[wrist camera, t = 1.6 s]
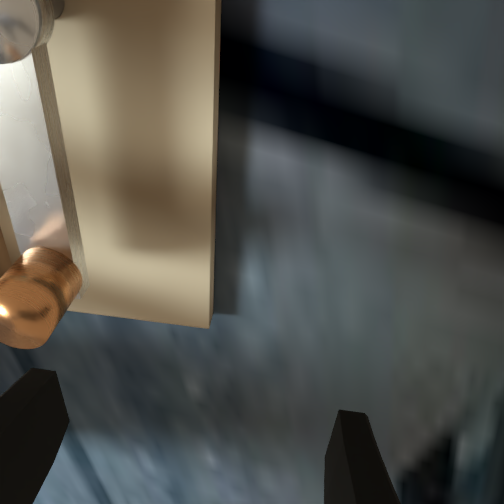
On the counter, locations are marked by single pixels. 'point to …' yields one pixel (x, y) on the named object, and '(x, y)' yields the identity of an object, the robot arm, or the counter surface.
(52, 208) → the bar
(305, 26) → the counter surface
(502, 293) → the counter surface
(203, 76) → the door board
